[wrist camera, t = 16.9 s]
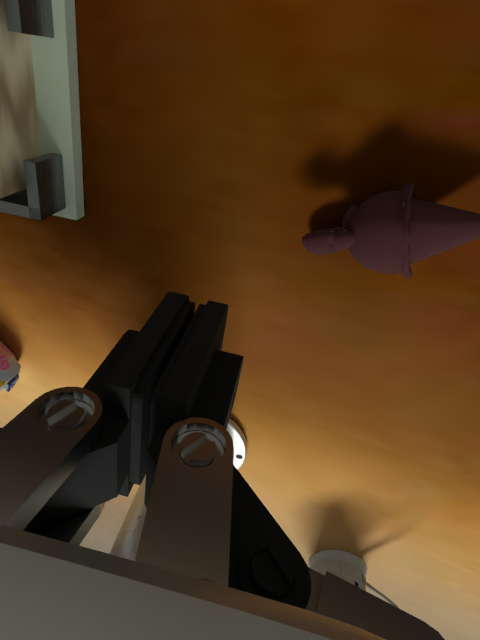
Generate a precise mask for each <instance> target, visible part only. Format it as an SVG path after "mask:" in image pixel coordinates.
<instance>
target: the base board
mask: <svg viewBox="0 0 480 640" xmlns="http://www.w3.org/2000/svg"><path fill="white" fill-rule="evenodd" d="M52 14H53V28H54V38H50V37H43V36H36V35H30V36H31V48H32V60H33V72H34V84H35V96H36V107H37V119H38V131H39V143H40V155H44V154H48V153H56V154H61V155H62V157H63V172H64V186H65V201H66V208H65V209H63V210H61V211H59V212H57V213H55V214H53V215H54V216H59V217H63V218H68V219H72V220H78V219H80V218H82V217H83V216H84V194H83V172H82V150H81V128H80V106H79V84H78V62H77V40H76V18H75V0H52Z"/></svg>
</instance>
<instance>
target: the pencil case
mask: <svg viewBox="0 0 480 640" xmlns="http://www.w3.org/2000/svg"><path fill="white" fill-rule="evenodd" d="M20 368H21V365H20V364H19V363H18V361H17V360H16V358H15V355H14V354H13V353H12V352H11V351H10V350H9V349H8V348H7V347H6V346H5V345H4V344H3V343H2V342H1V340H0V391H1V390H2V389H3V388H5V387H6V390H7V391H8V392H9V391H10V390H11V388H12V387H13V386H14V385H15V384H16V382H17V380H18V379H19V375H18V374H19V372H20Z"/></svg>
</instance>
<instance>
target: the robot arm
mask: <svg viewBox="0 0 480 640" xmlns="http://www.w3.org/2000/svg"><path fill="white" fill-rule="evenodd" d="M194 311H195V302H190V301H189V296H187V295H183V294H178V293H174V292H168V293H167V294H166V296H165V297H164V298H163V300H162V301H161V303H160V304H159V305H158V307H157V308H156V310H155V311H154V312H153V314H152V315H151V317H150V318H149V319H148V321H147V322H146V324H145V325H144V326H143V328H142V329H141V331H140V332H138V331H134V330H128V331H127V332H126V333H125V334H124V335H123V336H122V338H121V339H120V340H119V342H118V343H117V344H116V345H115V347H114V348H113V349H112V351H111V352H110V353H109V355H108V356H107V357H106V359H105V360H104V361H103V362H102V364H101V365H100V366H99V368H98V369H97V370H96V372H95V373H94V374H93V376H92V377H91V378H90V379H89V381H88V382H87V383H86V385H85V386H84V387H83V388H80V387H63V388H58V389H54V390H51V391H49V392H46V393H44V394H43V395H41V396H40V397H38V398H37V399H36V400H34V401H33V402H32V403H31V404H30V405H29V406H27V407H26V408H25V409H24V410H23V411H22V412H20V413H19V414H18V415H17V416H16V417H15V418H14V419H12V420H11V421H10V422H9V423H8V424H7V425H5V426H4V427H3V428H0V640H445V639H444V638H443V637H442V636H441V635H440V633H439V632H438V631H436V630H435V629H434V628H432V627H431V626H429V625H428V624H427V623H425V622H424V621H422V620H420V619H418V618H416V617H414V616H412V615H410V614H409V613H407V612H405V611H403V610H401V609H399V608H397V607H395V606H393V605H391V604H389V603H387V602H385V601H384V600H382V599H380V598H378V597H376V596H374V595H372V594H370V593H368V592H366V591H364V590H362V589H361V588H359V587H357V586H355V585H353V584H351V583H349V582H347V581H345V580H343V579H341V578H339V577H338V576H336V575H334V574H332V573H330V572H328V571H326V572H325V574H324V575H322V574H321V573H319V572H317V571H315V570H313V569H311V568H309V567H308V566H307V564H306V563H305V561H304V559H303V557H302V556H301V554H300V553H299V551H298V550H297V549H296V547H295V546H294V545H293V543H292V542H291V541H290V539H289V538H288V537H287V535H286V534H285V533H284V531H283V530H282V529H281V527H280V526H279V525H278V523H277V522H276V521H275V519H274V518H273V517H272V515H271V514H270V513H269V511H268V510H267V509H266V507H265V506H264V505H263V503H262V502H261V501H260V499H259V498H258V497H257V495H256V494H255V493H254V491H253V490H252V489H251V487H250V486H249V485H248V483H247V482H246V481H245V479H244V478H243V477H242V475H241V474H240V473H239V471H238V469H239V468H240V467H241V465H242V464H243V462H244V460H245V457H246V451H247V442H246V439H245V436H244V434H243V432H242V430H241V429H240V427H239V426H238V425H237V424H236V423H235V422H234V421H233V420H232V419H230V415H231V411H232V407H233V403H234V399H235V395H236V391H237V387H238V382H239V378H240V373H241V368H242V363H243V358H244V356H240V355H236V354H232V353H228V352H223V351H221V348H222V342H223V336H224V330H225V324H226V318H227V312H228V305H227V304H222V303H218V302H213V301H208V302H207V304H206V305H203V304H200V305H199V307H198V308H197V310H196V312H195V314H194ZM133 484H138V485H140V486H139V488H138V491H137V493H136V495H135V497H134V500H133V502H132V504H131V506H130V509H129V511H128V513H127V515H126V518H125V520H124V522H123V524H122V527H121V529H120V531H119V533H118V536H117V538H116V540H115V542H114V545H113V547H112V549H111V552H110V554H107V553H104V552H100V551H96V550H93V549H89V548H85V547H82V546H79V545H80V543H81V542H82V540H83V539H84V537H85V536H86V534H87V533H88V532H89V530H90V529H91V527H92V526H93V524H94V523H95V521H96V520H97V519H98V517H99V516H100V514H101V512H102V510H103V508H104V503H105V502H106V501H108V500H111V499H113V498H115V497H117V496H118V494H119V495H123V496H127V497H128V495H129V493H130V491H131V488H132V486H133Z"/></svg>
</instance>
